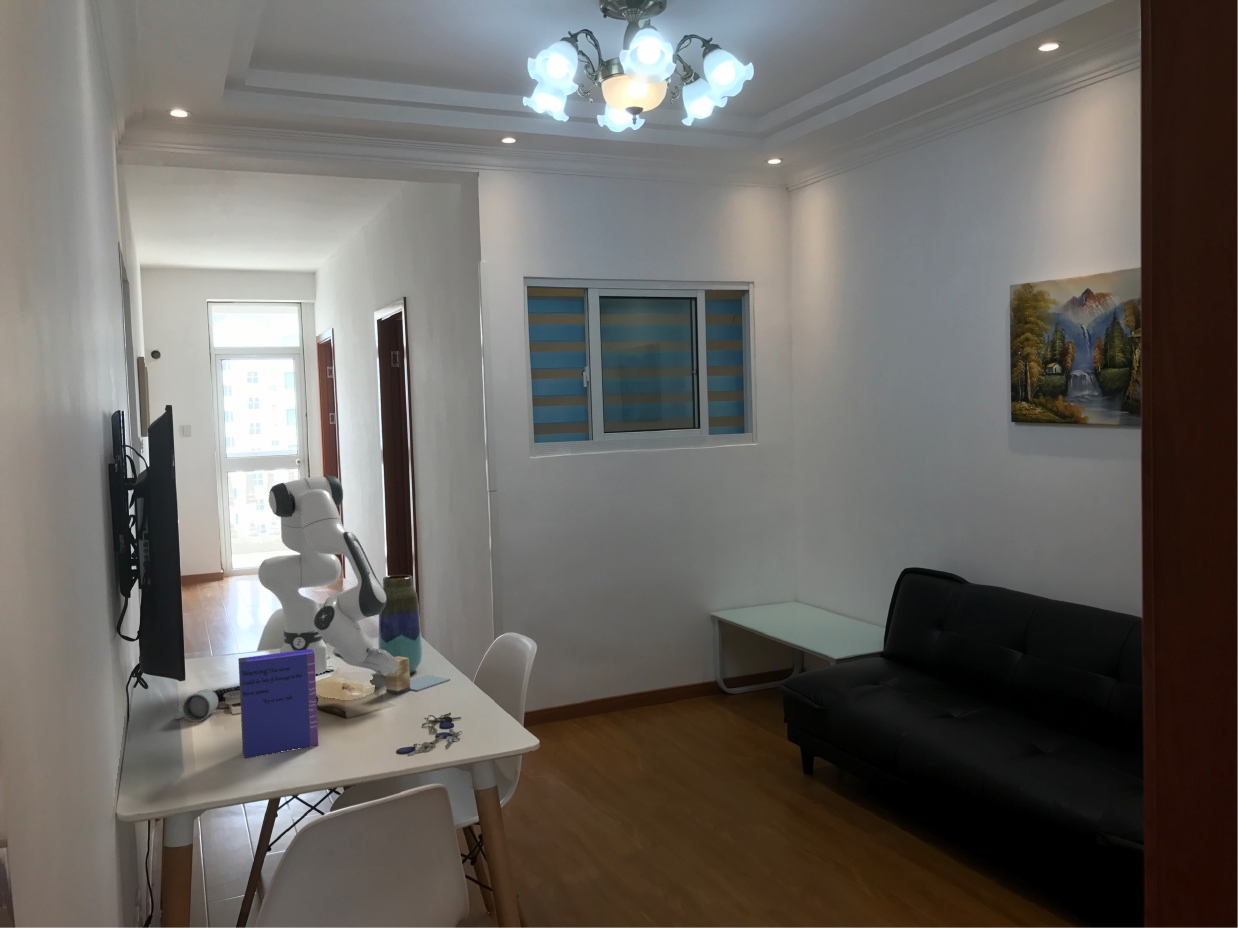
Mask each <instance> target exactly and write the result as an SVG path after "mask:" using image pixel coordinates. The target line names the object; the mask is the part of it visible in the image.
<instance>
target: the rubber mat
mask: <svg viewBox="0 0 1238 928" xmlns="http://www.w3.org/2000/svg"><path fill="white" fill-rule="evenodd" d="M448 680H450V681H451V678H448V677H447V678H446V677H443V676H442V677H441V676H437V675H436V676H435V675H430V674H427V675H424V676H421V677H418V678H413V679H410V691H414V692H419V691H422V690H426V689H428V688H432V687H434V686H433V685H435V686H437V684H438V685H441V684H443V683H442V682H444V683H446V682H445V681H447V682H449V681H448ZM440 683H441V684H440Z"/></svg>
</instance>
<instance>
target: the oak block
mask: <svg viewBox="0 0 1238 928" xmlns="http://www.w3.org/2000/svg"><path fill="white" fill-rule="evenodd" d="M394 658H395V659H397V660H398V661H399V666H398V668H397V670H396V671H395V673H388V674H387V675H386V676H385V689H386V690H385V691H386V694H391V695H397V696H399V695H402V694H405V693H409V692H410V691H411V690H410V680H411V675H410V674H411V673H410V669H409V658H405V657H400V656H397V657H394Z"/></svg>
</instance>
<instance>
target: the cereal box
mask: <svg viewBox="0 0 1238 928" xmlns="http://www.w3.org/2000/svg"><path fill="white" fill-rule="evenodd" d="M238 674H239V675H238V678H239V679H238V680H239V698H240V699H239V701H240V703H239V704H240V723H241V744H242V746H241V747H242V748H241V749H242V755H243V757H244V759H251V758H256V756H257V757H261V755H263V756H267V755H266V754H268V755H273V754H272V753H274V754H279V753H278V752H280V753H282V752H281V751H286V752H288V751H287V750H292V749H297V750H299V749H298V748H303V749H306V748H305V747H309V748H311V747H310V746H315V747H319V733H318V732H319V731H318V730H319V728H318V727H319V726H318V707H317V706H318V705H317V704H318V702H317V686H316V685H317V684H316V683H317V682H316V675H315V655H314V651H313V650H312V649H307V650H299V651H292V652H284V653H280V652H279V653H270V654H262V655H254V656H247V657H239V658H238ZM292 751H293V750H292ZM250 757H251V758H250Z"/></svg>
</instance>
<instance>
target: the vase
mask: <svg viewBox="0 0 1238 928" xmlns="http://www.w3.org/2000/svg"><path fill="white" fill-rule="evenodd" d="M413 582H414V581H413V576H412V575H410V574H396V575H395V574H394V575H387V576H384V577H383V578H382V587H383V589H384V591H385V593H386V596H387V601H386V605H385V607H384V609H383V611H382V612H381V613H380V614H378V638H377V639H378V640H377V641H378V648H377V649H381V650H384V651H386V652H388V653H389V654H391V655H392V656H393V657H397V656H400V657H405V658H409V669H410V674H412V673H414V672H415V671H416V670H417V669H418V668H419V666H420V665H421V662H422V657H423V643H422V642H423V638H422V628H421V617H420V608H419V607H420V606H419V598H418V593H417V591H416V589H415V588H414V583H413Z"/></svg>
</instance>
